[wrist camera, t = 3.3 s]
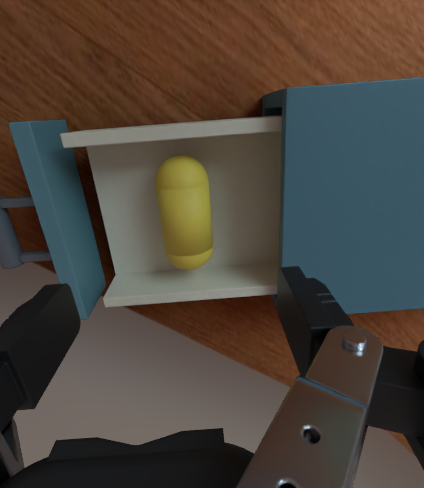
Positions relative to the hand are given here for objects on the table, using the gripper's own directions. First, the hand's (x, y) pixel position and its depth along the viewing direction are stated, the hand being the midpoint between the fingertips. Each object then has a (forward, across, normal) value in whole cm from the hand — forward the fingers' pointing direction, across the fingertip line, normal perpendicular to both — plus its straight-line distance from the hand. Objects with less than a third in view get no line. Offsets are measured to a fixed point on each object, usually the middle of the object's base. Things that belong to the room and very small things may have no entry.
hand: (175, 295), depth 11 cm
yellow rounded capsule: (+10, 0, 0) cm, 10 cm away
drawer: (+13, +2, 0) cm, 13 cm away
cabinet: (+14, -16, 0) cm, 21 cm away
